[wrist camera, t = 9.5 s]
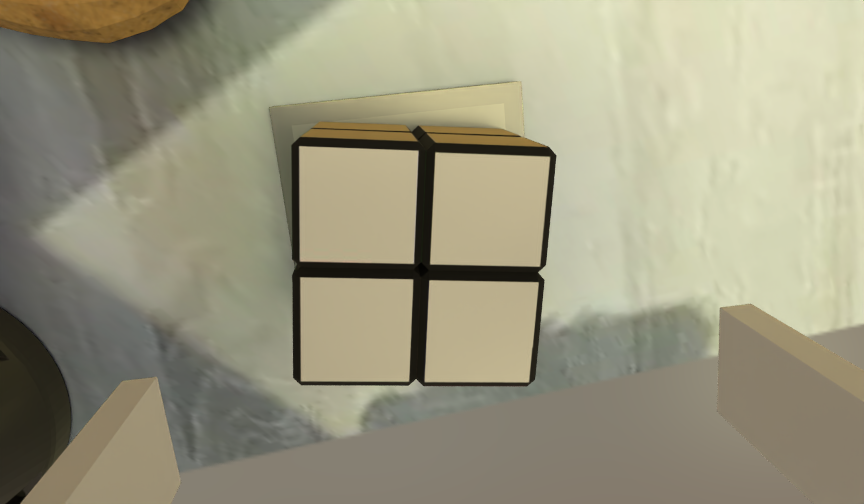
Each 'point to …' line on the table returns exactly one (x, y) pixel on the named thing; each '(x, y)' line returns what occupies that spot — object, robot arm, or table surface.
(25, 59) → the table surface
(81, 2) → the potato
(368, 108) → the trivet
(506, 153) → the puzzle cube
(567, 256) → the table surface
